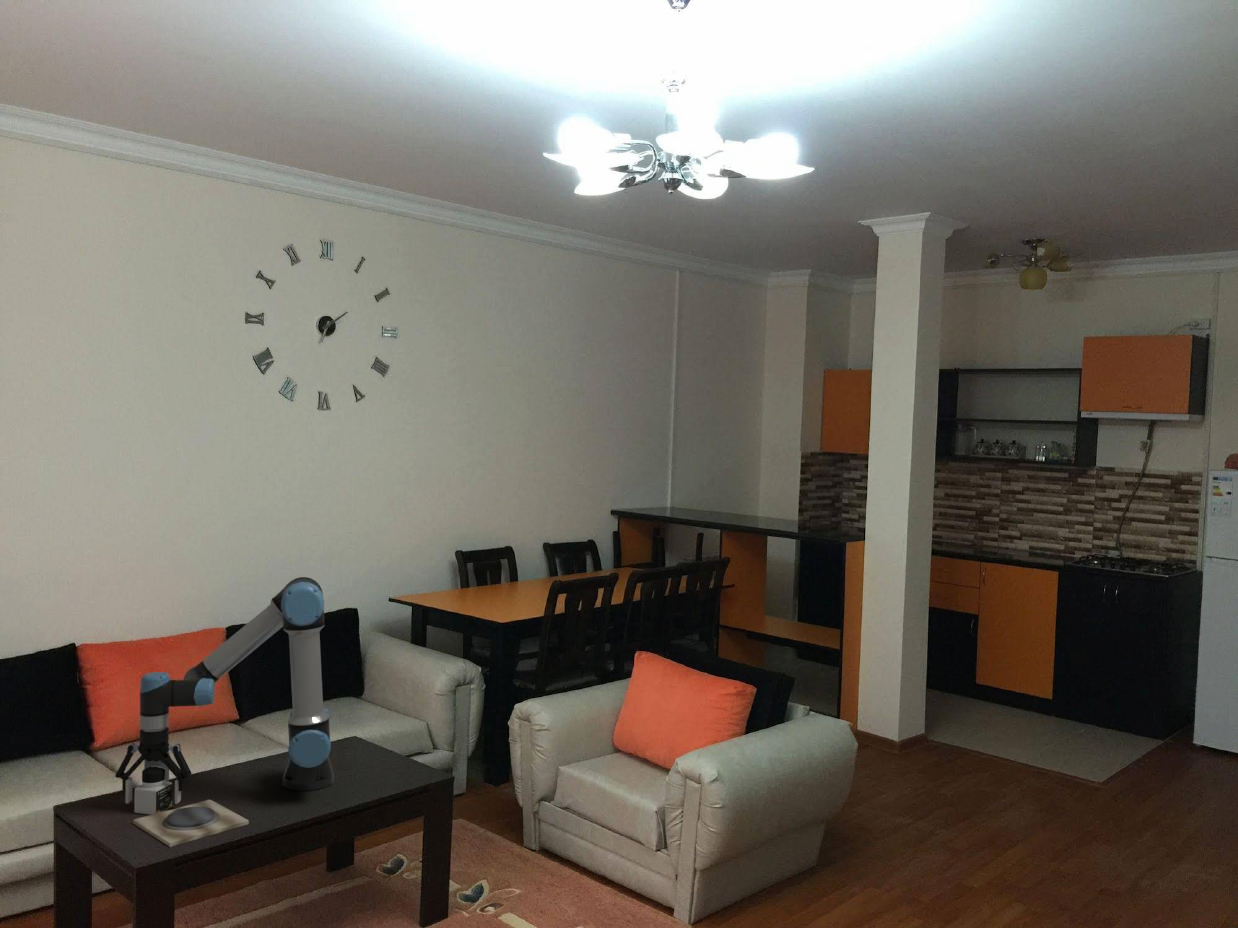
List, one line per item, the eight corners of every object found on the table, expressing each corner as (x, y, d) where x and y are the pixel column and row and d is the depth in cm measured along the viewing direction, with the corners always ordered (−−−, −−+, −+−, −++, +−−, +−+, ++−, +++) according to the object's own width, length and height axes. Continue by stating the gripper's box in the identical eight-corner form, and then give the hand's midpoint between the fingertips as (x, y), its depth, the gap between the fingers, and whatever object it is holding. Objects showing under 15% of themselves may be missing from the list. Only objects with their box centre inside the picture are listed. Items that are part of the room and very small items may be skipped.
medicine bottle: (156, 815, 288) (156, 773, 288) (133, 812, 290) (134, 770, 289) (172, 806, 295) (172, 765, 295) (150, 803, 297) (150, 762, 296)
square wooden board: (210, 802, 299) (210, 794, 299) (248, 823, 284) (248, 814, 284) (133, 823, 282) (133, 814, 282) (169, 846, 268) (170, 837, 268)
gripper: (203, 724, 296) (202, 797, 297) (114, 723, 295) (113, 796, 295) (194, 732, 289) (193, 806, 289) (103, 731, 287) (102, 806, 288)
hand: (153, 801), depth 292 cm, fingers open, 13 cm apart
